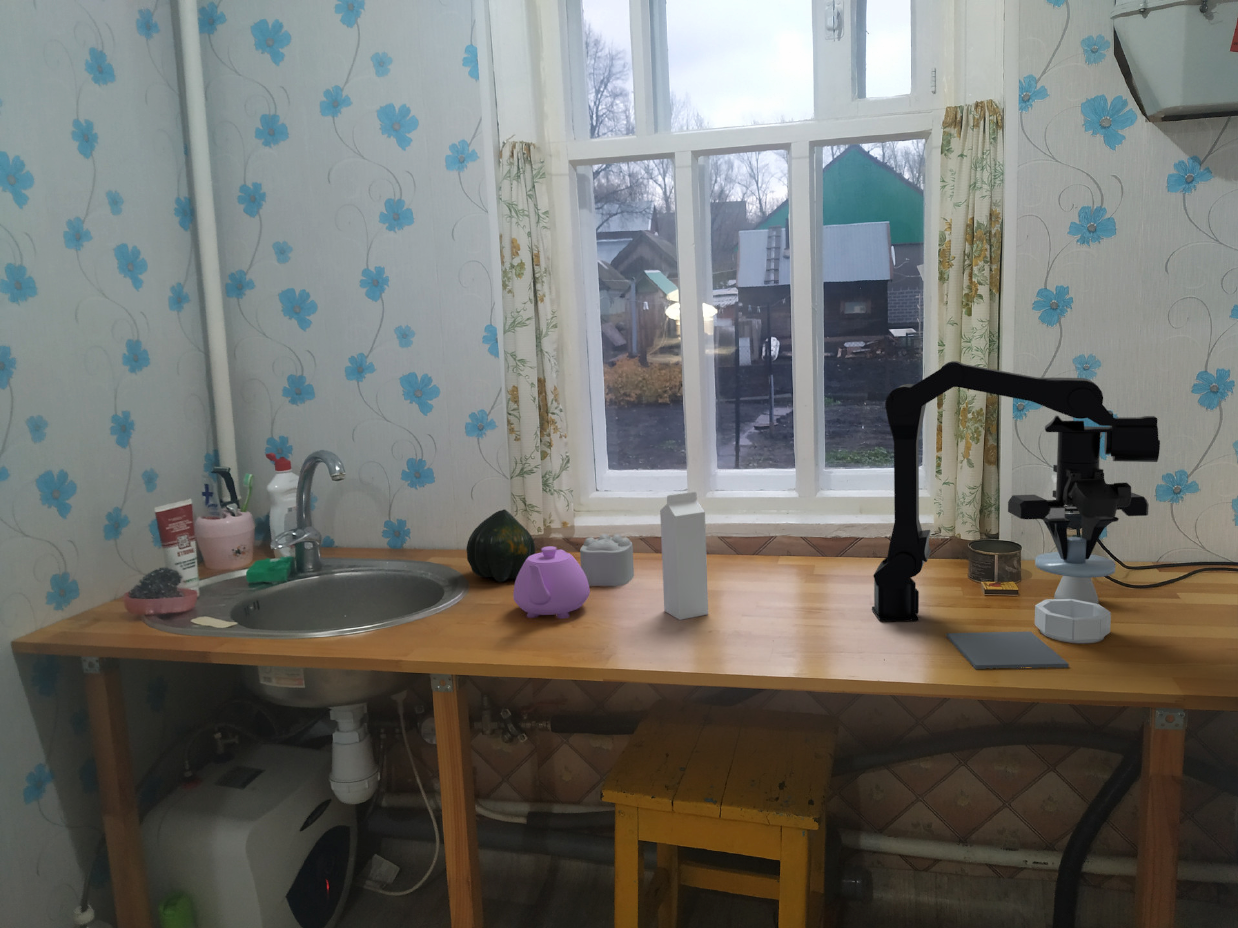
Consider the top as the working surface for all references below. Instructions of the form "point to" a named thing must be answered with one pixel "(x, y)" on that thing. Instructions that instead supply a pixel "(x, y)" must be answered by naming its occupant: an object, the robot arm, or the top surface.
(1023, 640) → the plate
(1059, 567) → the lid
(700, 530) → the milk
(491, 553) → the squash
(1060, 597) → the flask
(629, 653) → the top surface
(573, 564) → the teapot
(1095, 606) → the bowl
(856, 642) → the top surface
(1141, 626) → the top surface
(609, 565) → the grey lumpy-topped tub
